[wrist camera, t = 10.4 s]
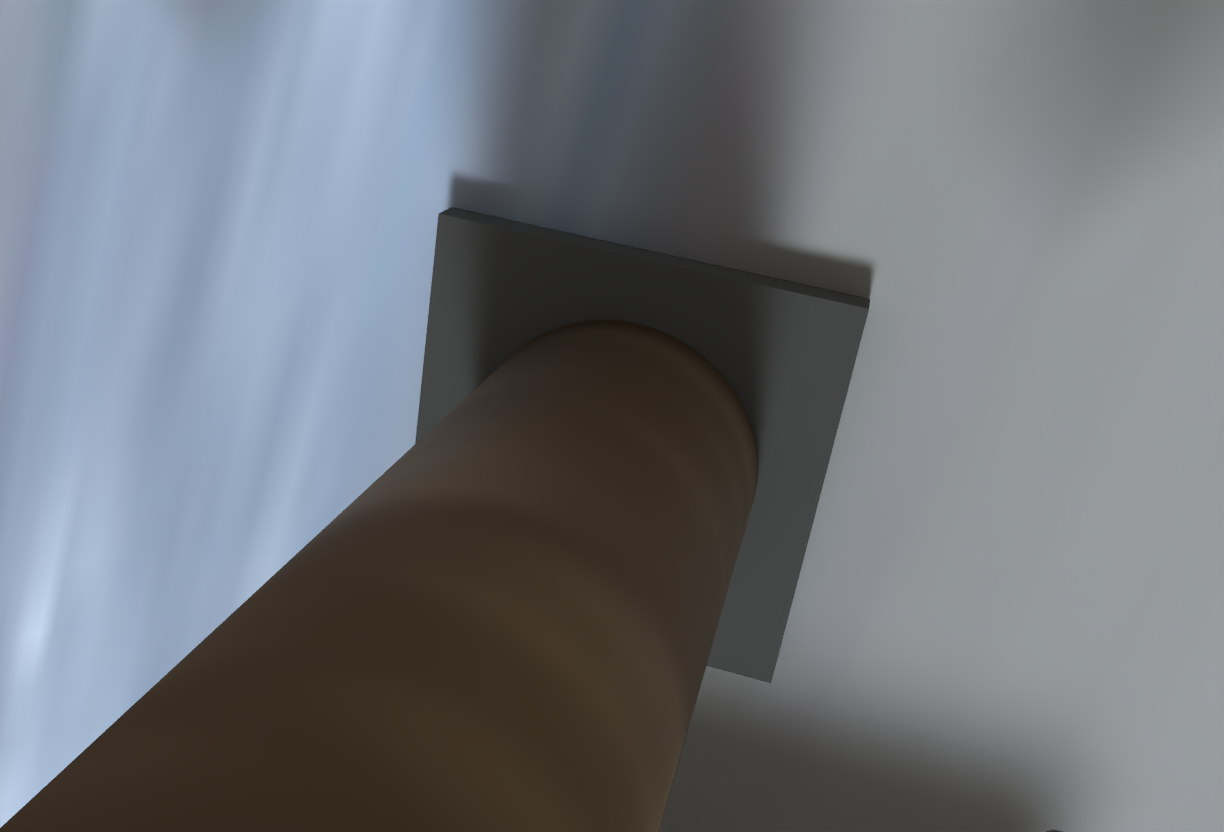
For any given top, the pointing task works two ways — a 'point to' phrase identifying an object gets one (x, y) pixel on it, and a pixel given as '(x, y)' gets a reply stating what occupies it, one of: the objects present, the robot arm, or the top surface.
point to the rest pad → (698, 316)
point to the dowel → (465, 624)
